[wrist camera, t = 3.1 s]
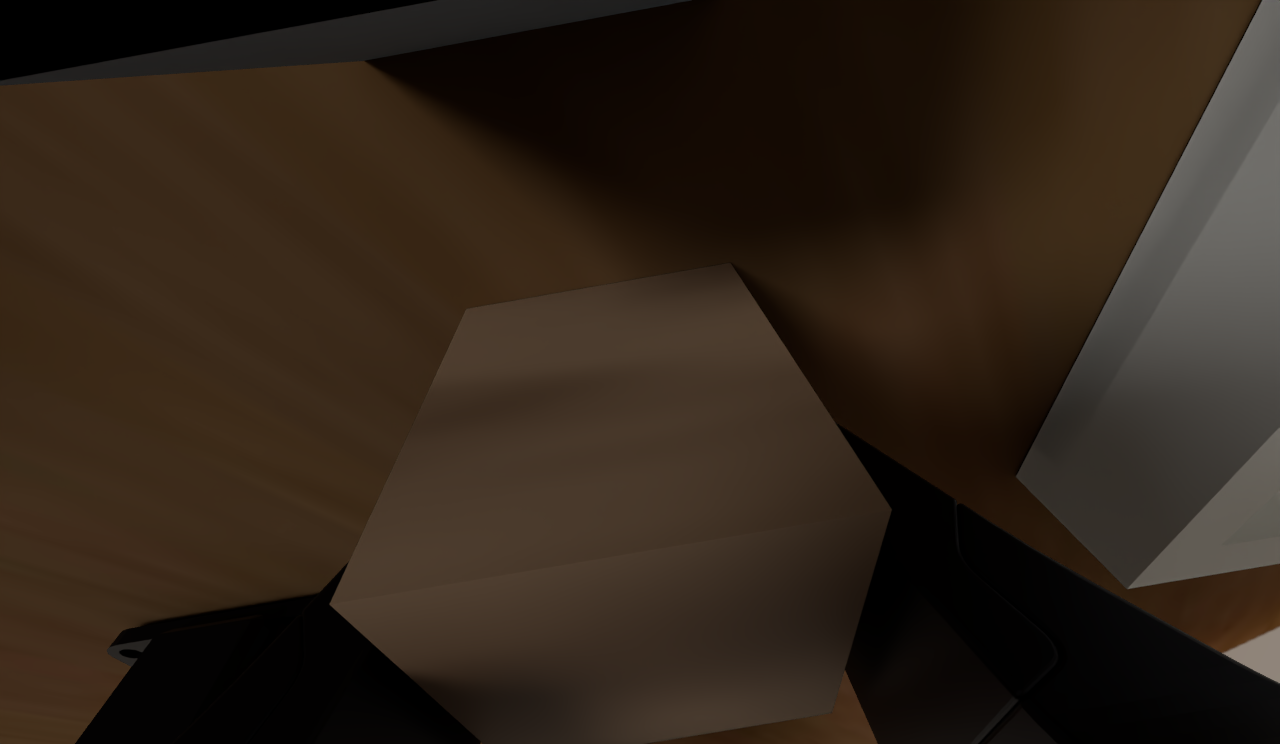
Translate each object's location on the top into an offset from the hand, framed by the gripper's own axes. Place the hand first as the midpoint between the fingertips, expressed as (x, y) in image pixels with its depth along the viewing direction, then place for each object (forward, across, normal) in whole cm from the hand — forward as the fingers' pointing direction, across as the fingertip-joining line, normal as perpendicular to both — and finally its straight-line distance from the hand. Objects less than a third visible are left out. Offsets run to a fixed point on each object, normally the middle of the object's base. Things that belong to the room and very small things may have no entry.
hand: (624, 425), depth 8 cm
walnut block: (+1, 0, 0) cm, 1 cm away
